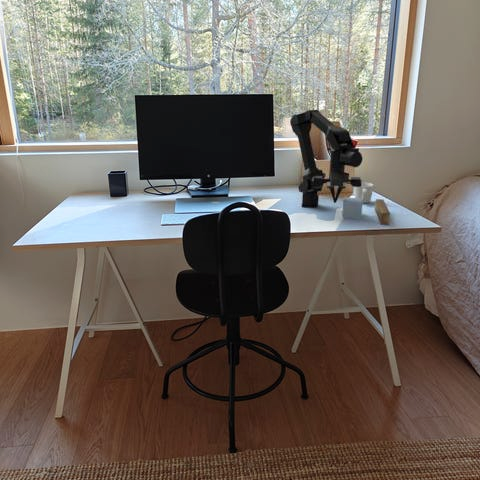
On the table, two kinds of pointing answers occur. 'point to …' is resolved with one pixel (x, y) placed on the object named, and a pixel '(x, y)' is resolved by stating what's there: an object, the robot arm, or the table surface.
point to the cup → (364, 192)
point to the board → (382, 212)
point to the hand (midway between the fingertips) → (334, 202)
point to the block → (352, 208)
